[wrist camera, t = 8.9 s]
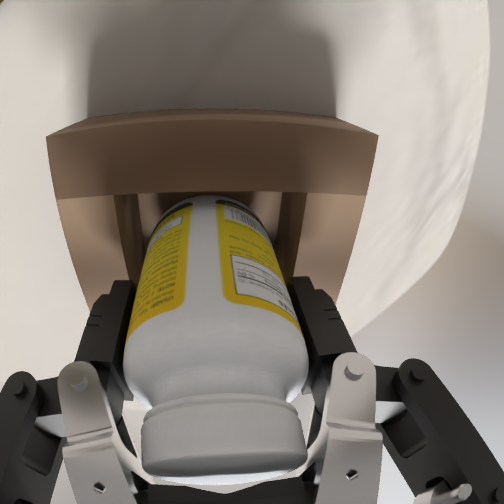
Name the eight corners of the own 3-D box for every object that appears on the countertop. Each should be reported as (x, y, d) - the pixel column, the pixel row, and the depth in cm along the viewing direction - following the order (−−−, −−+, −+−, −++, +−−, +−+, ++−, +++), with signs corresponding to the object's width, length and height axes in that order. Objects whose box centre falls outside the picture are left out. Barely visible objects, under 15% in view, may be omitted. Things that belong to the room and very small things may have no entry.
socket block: (86, 118, 11) (45, 136, 8) (336, 118, 13) (378, 135, 9) (122, 308, 17) (110, 357, 14) (301, 304, 19) (318, 350, 16)
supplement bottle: (160, 292, 14) (144, 487, 6) (144, 194, 11) (62, 430, 3) (264, 288, 15) (311, 477, 7) (272, 190, 12) (376, 415, 4)
